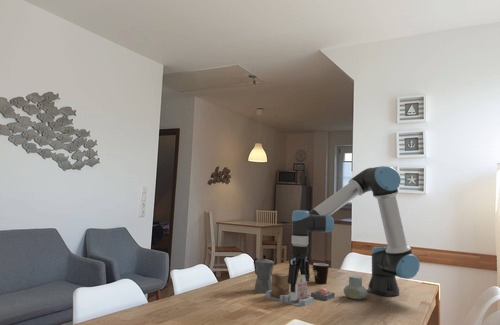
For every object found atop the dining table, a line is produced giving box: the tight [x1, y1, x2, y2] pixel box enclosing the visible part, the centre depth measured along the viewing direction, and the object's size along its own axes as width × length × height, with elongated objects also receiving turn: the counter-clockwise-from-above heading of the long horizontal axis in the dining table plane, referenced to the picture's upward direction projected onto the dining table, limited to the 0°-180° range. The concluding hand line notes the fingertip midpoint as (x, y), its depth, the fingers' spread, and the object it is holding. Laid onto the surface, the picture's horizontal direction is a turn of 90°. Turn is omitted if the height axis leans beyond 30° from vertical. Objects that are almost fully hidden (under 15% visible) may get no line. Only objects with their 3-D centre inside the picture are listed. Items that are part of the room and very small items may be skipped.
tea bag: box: [289, 274, 308, 300], centre depth 161 cm, size 4×7×10 cm, turn 126°
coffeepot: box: [253, 254, 275, 294], centre depth 179 cm, size 15×9×18 cm, turn 33°
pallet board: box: [263, 290, 317, 308], centre depth 164 cm, size 21×12×3 cm, turn 52°
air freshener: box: [343, 275, 368, 301], centre depth 175 cm, size 11×8×10 cm
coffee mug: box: [312, 262, 330, 285], centre depth 206 cm, size 12×9×10 cm
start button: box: [318, 287, 328, 294], centre depth 170 cm, size 4×4×4 cm
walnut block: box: [271, 272, 290, 298], centre depth 167 cm, size 7×4×10 cm, turn 52°
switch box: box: [310, 289, 336, 301], centre depth 170 cm, size 8×8×3 cm
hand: (298, 297), depth 161 cm, fingers closed on tea bag, 7 cm apart
